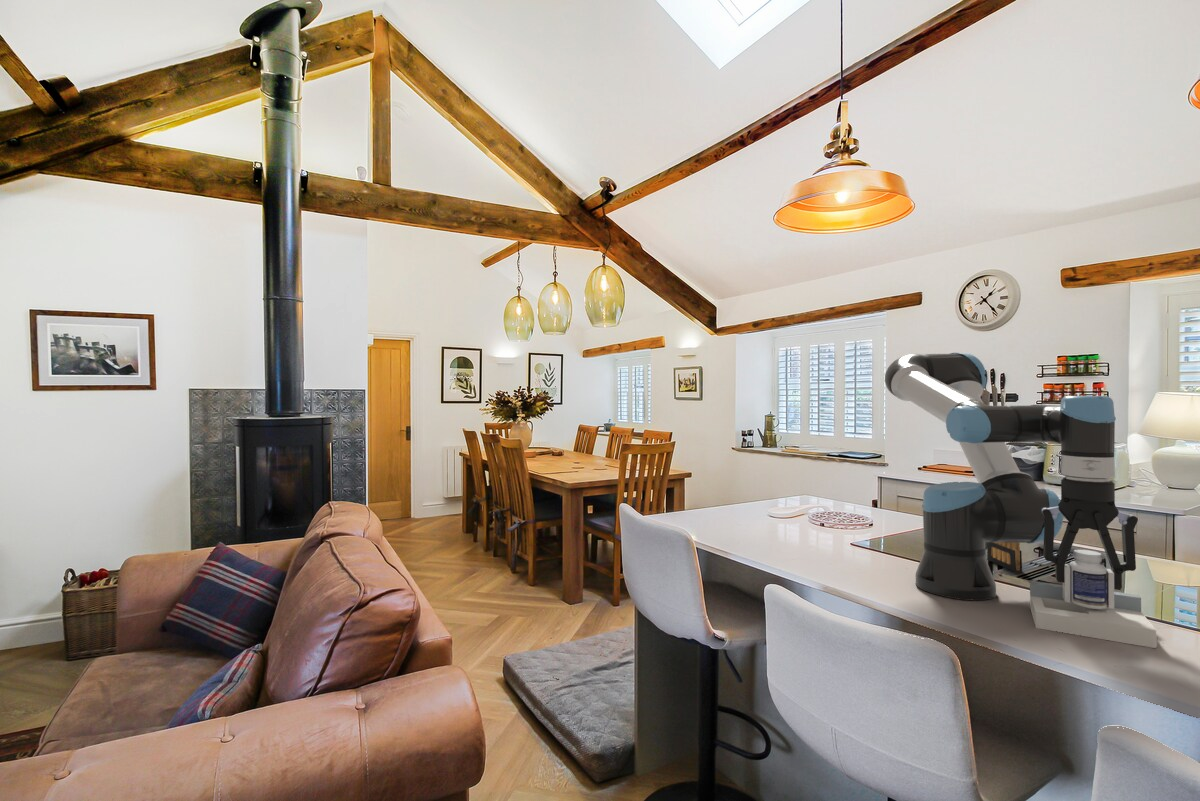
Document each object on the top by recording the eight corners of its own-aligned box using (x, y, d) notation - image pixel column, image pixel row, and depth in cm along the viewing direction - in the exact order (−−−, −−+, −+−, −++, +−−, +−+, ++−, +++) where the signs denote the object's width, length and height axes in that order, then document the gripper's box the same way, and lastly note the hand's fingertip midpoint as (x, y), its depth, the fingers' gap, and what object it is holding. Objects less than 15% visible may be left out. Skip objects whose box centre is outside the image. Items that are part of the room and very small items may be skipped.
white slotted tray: (1035, 628, 103) (1035, 597, 103) (1030, 608, 113) (1029, 580, 113) (1156, 648, 94) (1155, 615, 94) (1138, 624, 104) (1138, 594, 104)
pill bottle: (1115, 610, 101) (1114, 556, 101) (1081, 609, 102) (1080, 555, 102) (1094, 600, 106) (1094, 548, 106) (1062, 598, 107) (1062, 547, 107)
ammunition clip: (986, 559, 147) (986, 514, 148) (994, 559, 147) (993, 514, 147) (1014, 571, 137) (1013, 522, 137) (1022, 571, 137) (1021, 522, 137)
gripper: (1027, 477, 106) (1027, 599, 106) (1162, 485, 96) (1162, 620, 96) (1023, 472, 112) (1023, 588, 112) (1149, 479, 102) (1149, 605, 102)
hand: (1087, 602), depth 104 cm, fingers closed on pill bottle, 5 cm apart
